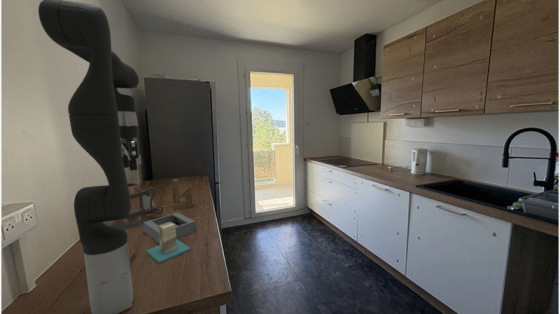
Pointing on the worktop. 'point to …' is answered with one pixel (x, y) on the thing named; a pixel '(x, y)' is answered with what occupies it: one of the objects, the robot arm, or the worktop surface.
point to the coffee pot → (147, 200)
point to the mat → (161, 256)
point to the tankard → (136, 208)
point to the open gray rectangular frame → (182, 230)
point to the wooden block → (176, 197)
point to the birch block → (167, 237)
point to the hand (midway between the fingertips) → (129, 168)
